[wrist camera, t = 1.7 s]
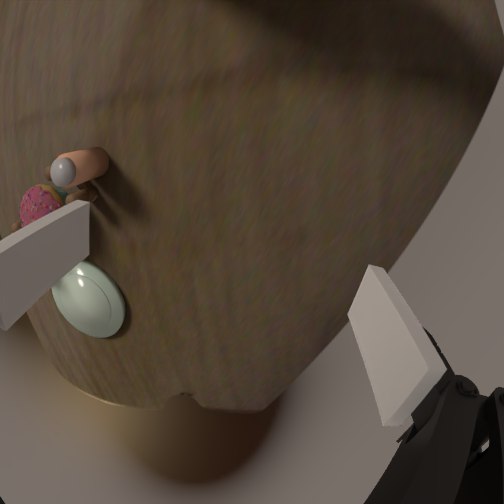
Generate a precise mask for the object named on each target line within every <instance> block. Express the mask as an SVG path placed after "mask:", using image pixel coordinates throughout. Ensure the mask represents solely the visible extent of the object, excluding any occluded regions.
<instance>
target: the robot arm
mask: <svg viewBox="0 0 504 504" xmlns="http://www.w3.org/2000/svg"><path fill="white" fill-rule="evenodd" d="M89 208H90V202H87V201H82V200H76V201H73V202H71V203H69V204H67V205H65V206H63V207H61V208H59V209H57V210H55V211H53V212H51V213H49V214H47V215H45V216H43V217H42V218H40V219H38V220H36V221H34V222H32V223H30V224H29V225H27V226H25V227H23V228H21V229H20V230H18V231H16V232H14V233H13V234H11V235H9V236H7V237H6V238H4V239H2V240H1V241H0V328H1V329H3V330H5V331H7V330H8V329H9V328H10V327H11V326H12V325H13V324H14V323H15V321H17V320H18V319H19V318H20V317H21V316H22V315H23V314H24V313H25V312H26V311H27V310H28V309H29V308H30V307H31V306H32V305H33V304H34V303H35V302H36V301H37V300H38V299H39V298H41V297H42V296H43V295H44V294H45V293H46V292H47V291H48V290H49V289H50V288H51V287H53V286H54V285H55V284H56V283H57V282H58V281H59V280H60V279H61V278H63V277H64V276H65V275H66V274H67V273H68V272H70V271H71V270H72V269H73V268H74V267H75V266H77V265H78V264H79V263H80V262H81V261H82V260H84V259H85V258H86V257H87V256H88V255H89ZM348 317H349V320H350V322H351V325H352V328H353V331H354V334H355V337H356V340H357V343H358V346H359V349H360V352H361V355H362V358H363V361H364V364H365V367H366V370H367V374H368V377H369V380H370V383H371V386H372V390H373V393H374V396H375V399H376V403H377V406H378V410H379V413H380V417H381V421H382V424H383V426H401V425H402V424H403V423H404V422H405V421H406V419H408V418H409V416H410V415H411V416H412V418H413V421H414V423H413V424H412V425H411V427H410V428H409V429H408V430H407V431H406V432H405V433H404V434H403V435H402V436H401V437H400V438H399V439H398V440H397V442H398V443H399V442H400V441H401V440H402V439H403V440H402V442H401V444H400V446H399V448H398V449H397V451H396V453H395V455H394V457H393V458H392V460H391V462H390V464H389V465H388V467H387V469H386V470H385V472H384V474H383V475H382V477H381V478H380V480H379V482H378V483H377V485H376V486H375V488H374V489H373V491H372V492H371V494H370V495H369V497H368V498H367V500H366V501H365V503H364V504H504V388H502V387H498V388H496V389H495V390H494V391H493V392H492V394H491V395H490V396H489V397H487V396H483V395H480V394H479V391H478V389H477V387H476V385H475V384H474V383H473V382H472V381H471V380H469V379H468V378H466V377H464V376H462V375H455V374H454V372H453V370H452V369H451V367H450V365H449V363H448V362H447V360H446V358H445V357H444V355H443V354H442V353H441V350H440V348H439V347H438V346H437V343H436V342H435V340H434V338H433V337H432V335H431V334H430V333H429V332H427V330H426V329H425V328H423V327H422V326H421V325H420V323H419V321H418V320H417V318H416V317H415V315H414V313H413V312H412V310H411V309H410V307H409V306H408V304H407V303H406V301H405V300H404V298H403V297H402V295H401V294H400V292H399V291H398V289H397V288H396V286H395V285H394V283H393V282H392V280H391V279H390V278H389V276H388V275H387V273H386V272H385V270H384V269H383V268H380V267H376V266H372V265H368V268H367V270H366V273H365V275H364V277H363V280H362V282H361V285H360V287H359V289H358V292H357V294H356V296H355V299H354V301H353V303H352V306H351V308H350V310H349V312H348ZM488 440H489V447H488V448H487V449H486V450H485V451H483V452H482V449H481V447H482V445H484V444H485V443H486V442H487V441H488ZM0 504H5V503H4V501H3V500H2V498H1V497H0Z"/></svg>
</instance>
